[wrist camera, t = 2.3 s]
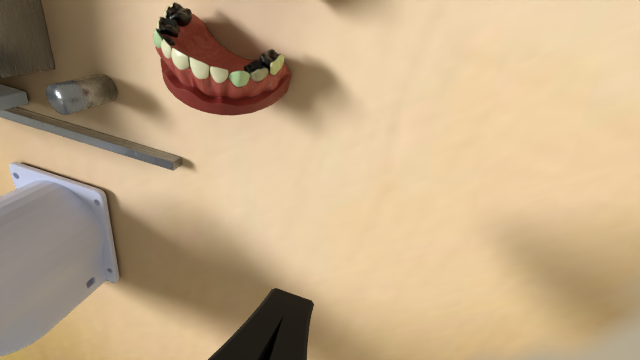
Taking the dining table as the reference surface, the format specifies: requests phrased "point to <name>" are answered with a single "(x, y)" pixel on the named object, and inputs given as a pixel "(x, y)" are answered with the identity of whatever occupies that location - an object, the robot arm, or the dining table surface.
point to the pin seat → (59, 84)
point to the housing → (11, 97)
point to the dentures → (214, 68)
